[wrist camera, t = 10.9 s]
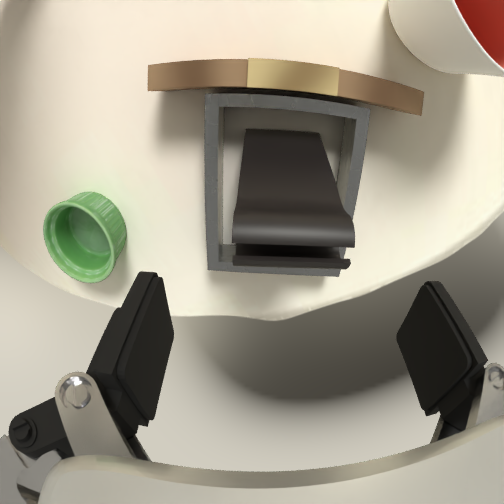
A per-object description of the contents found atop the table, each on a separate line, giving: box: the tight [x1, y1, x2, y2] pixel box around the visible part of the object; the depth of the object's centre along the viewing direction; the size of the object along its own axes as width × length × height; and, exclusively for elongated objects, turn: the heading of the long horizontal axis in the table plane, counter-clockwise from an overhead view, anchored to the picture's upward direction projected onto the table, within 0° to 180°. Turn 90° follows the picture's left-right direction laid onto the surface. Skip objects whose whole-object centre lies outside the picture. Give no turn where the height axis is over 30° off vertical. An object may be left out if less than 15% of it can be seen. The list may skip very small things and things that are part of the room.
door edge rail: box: [148, 58, 424, 116], centre depth 17 cm, size 20×2×4 cm, turn 87°
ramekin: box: [43, 192, 126, 283], centre depth 24 cm, size 9×9×4 cm
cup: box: [388, 0, 504, 77], centre depth 10 cm, size 10×10×10 cm
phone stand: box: [232, 129, 355, 269], centre depth 18 cm, size 9×6×12 cm, turn 178°
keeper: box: [205, 94, 370, 277], centre depth 22 cm, size 12×15×3 cm
